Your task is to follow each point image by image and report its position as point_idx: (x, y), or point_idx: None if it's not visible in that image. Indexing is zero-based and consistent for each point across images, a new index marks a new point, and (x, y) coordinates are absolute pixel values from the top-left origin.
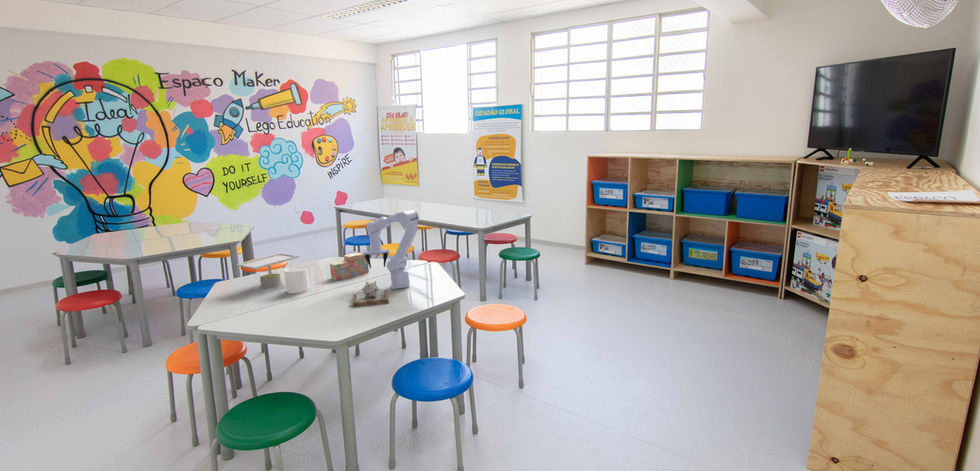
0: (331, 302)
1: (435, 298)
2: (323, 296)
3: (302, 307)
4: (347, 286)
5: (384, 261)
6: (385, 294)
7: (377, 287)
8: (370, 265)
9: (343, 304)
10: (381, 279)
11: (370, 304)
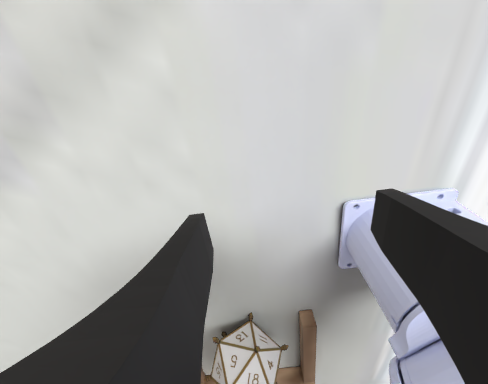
0: None
1: None
2: (11, 296)
3: None
4: (48, 167)
5: (429, 304)
6: (307, 358)
7: (278, 364)
8: (207, 287)
9: None
10: (283, 25)
11: None
